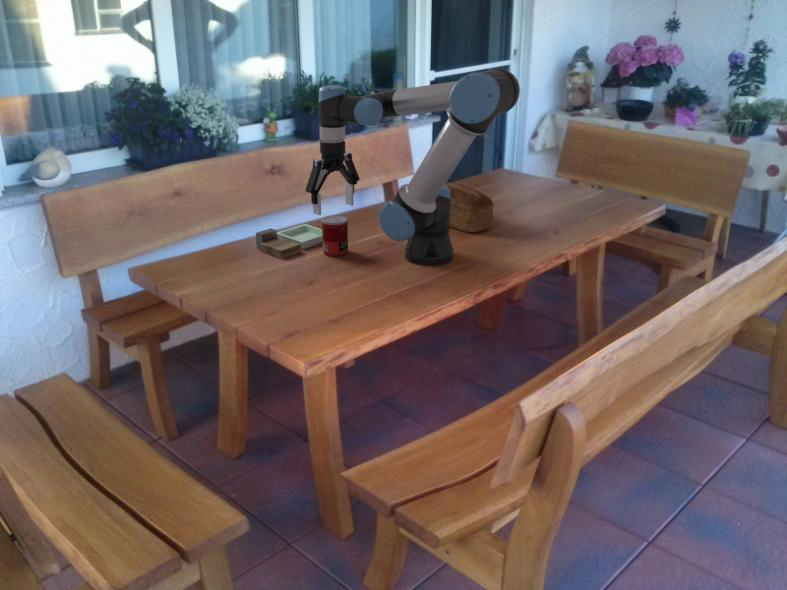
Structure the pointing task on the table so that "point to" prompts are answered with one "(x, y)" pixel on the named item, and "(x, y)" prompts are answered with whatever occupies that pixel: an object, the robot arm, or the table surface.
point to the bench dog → (265, 236)
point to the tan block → (280, 247)
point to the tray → (303, 235)
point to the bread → (469, 209)
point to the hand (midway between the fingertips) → (333, 209)
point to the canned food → (335, 236)
